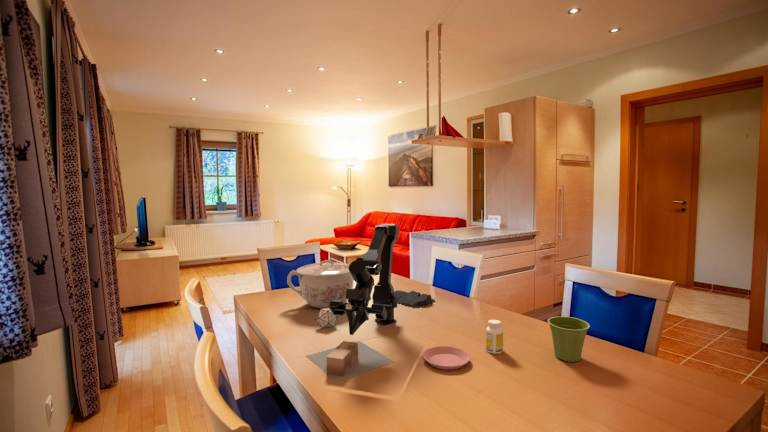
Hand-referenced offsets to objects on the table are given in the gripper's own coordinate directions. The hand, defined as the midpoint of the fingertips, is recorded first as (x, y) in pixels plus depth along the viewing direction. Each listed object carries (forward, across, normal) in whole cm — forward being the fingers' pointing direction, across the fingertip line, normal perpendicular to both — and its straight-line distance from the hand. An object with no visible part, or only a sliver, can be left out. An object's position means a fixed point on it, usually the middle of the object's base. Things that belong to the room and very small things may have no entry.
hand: (351, 334), depth 120 cm
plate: (+1, +29, +11) cm, 31 cm away
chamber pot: (-30, -33, +42) cm, 61 cm away
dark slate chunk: (-41, +2, +53) cm, 67 cm away
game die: (-10, -20, +22) cm, 31 cm away
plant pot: (-9, +64, +20) cm, 68 cm away
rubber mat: (+7, 0, +5) cm, 8 cm away
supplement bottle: (-8, +42, +20) cm, 47 cm away
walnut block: (+4, 0, +3) cm, 5 cm away
